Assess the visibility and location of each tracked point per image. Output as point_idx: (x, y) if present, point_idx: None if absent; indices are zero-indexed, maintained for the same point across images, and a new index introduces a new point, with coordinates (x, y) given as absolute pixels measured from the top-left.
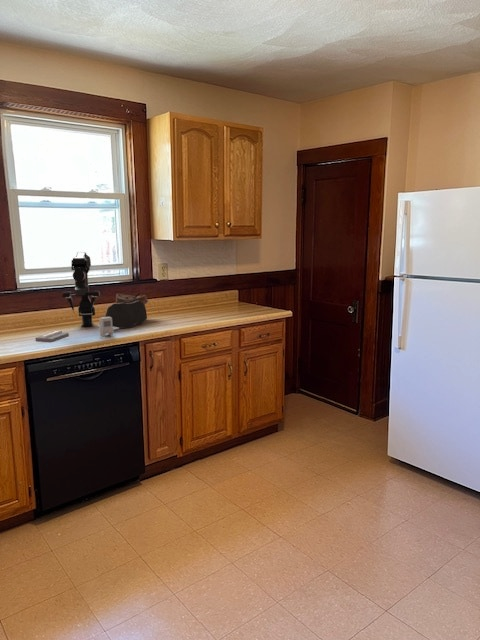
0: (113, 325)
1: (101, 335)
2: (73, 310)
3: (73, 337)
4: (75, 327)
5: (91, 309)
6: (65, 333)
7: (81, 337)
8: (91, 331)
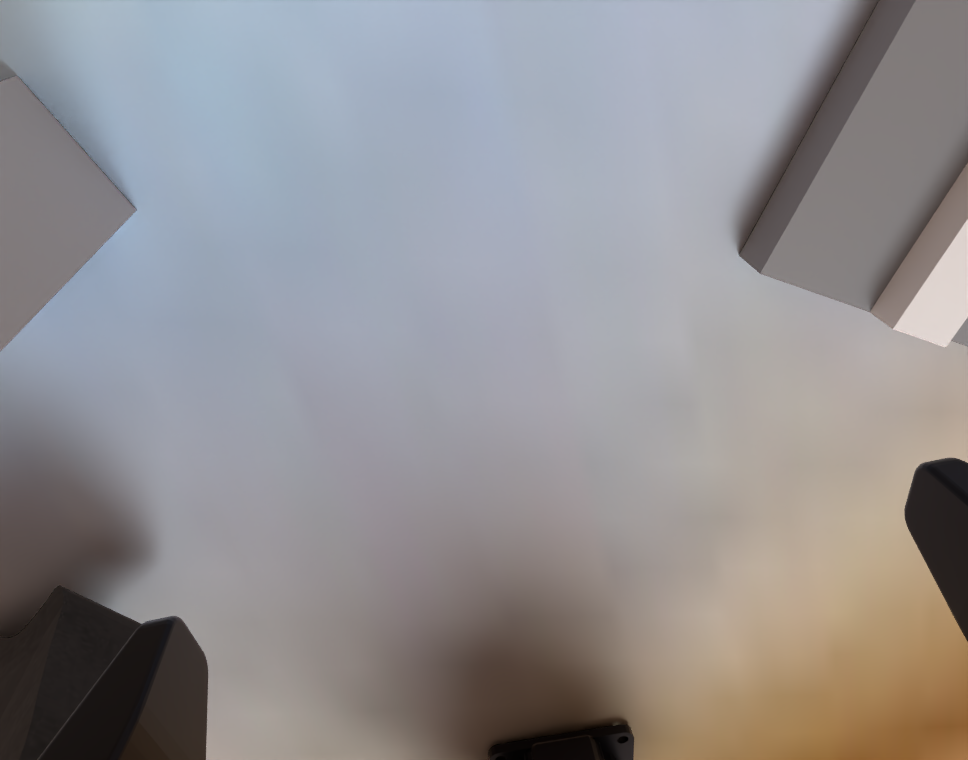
0: (31, 628)
1: (80, 159)
2: (929, 464)
3: (637, 108)
4: (695, 698)
5: (141, 629)
6: (811, 234)
7: (481, 95)
8: (422, 516)
